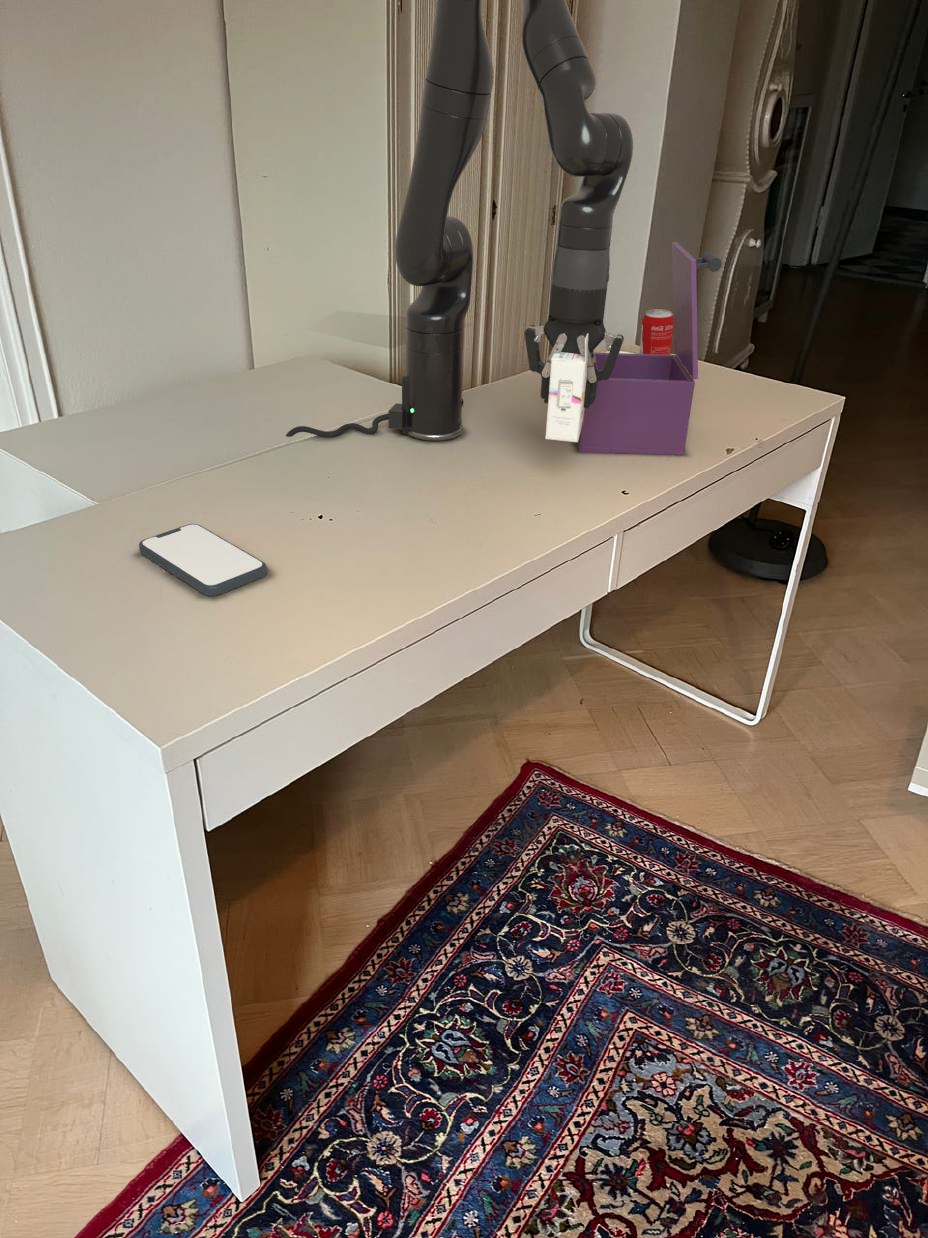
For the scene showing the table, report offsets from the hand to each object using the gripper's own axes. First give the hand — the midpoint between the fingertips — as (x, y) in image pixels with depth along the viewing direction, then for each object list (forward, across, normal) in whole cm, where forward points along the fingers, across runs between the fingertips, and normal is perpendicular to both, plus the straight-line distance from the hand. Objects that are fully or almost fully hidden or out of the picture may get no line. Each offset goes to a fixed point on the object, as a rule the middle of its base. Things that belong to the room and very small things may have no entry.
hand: (567, 403), depth 137 cm
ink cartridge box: (+4, 0, 0) cm, 4 cm away
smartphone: (+12, -37, -40) cm, 56 cm away
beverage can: (+12, +9, +48) cm, 50 cm away
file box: (+12, +7, +22) cm, 26 cm away
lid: (-9, +13, +24) cm, 29 cm away
